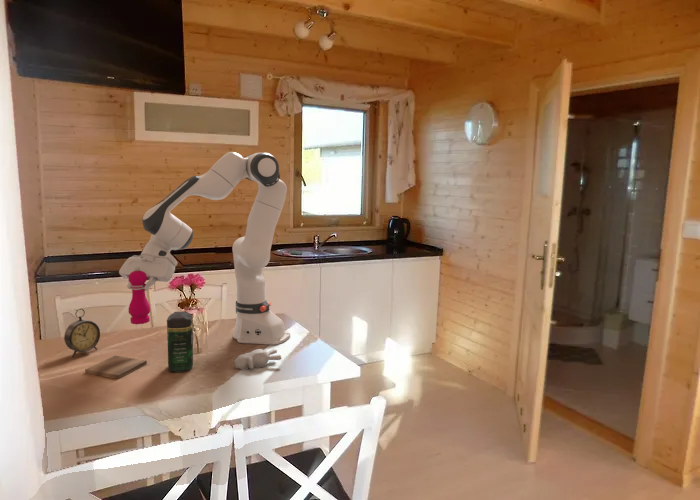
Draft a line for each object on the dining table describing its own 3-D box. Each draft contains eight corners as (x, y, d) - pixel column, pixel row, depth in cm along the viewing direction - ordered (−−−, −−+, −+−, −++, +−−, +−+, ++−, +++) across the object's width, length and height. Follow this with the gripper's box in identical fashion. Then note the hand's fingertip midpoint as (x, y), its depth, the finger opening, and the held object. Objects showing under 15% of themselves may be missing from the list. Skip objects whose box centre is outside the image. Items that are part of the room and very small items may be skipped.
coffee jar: (192, 372, 165) (190, 317, 162) (166, 374, 163) (164, 318, 160) (194, 361, 174) (193, 308, 171) (170, 362, 172) (168, 309, 169)
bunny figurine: (231, 352, 172) (274, 342, 178) (233, 366, 173) (276, 356, 179) (236, 362, 164) (281, 351, 169) (238, 377, 165) (283, 365, 170)
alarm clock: (71, 359, 174) (68, 313, 171) (63, 356, 176) (59, 310, 174) (102, 350, 183) (99, 306, 180) (93, 347, 186) (90, 304, 183)
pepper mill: (146, 325, 176) (142, 268, 173) (125, 324, 176) (121, 268, 173) (154, 319, 183) (151, 264, 180) (134, 318, 183) (131, 264, 180)
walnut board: (146, 363, 171) (146, 360, 171) (118, 378, 159) (118, 375, 159) (115, 358, 175) (115, 355, 175) (85, 373, 163) (85, 369, 162)
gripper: (125, 250, 186) (107, 282, 178) (173, 253, 180) (156, 286, 172) (135, 260, 191) (118, 291, 183) (181, 263, 184) (165, 295, 177)
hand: (137, 289), depth 177 cm, fingers closed on pepper mill, 5 cm apart
